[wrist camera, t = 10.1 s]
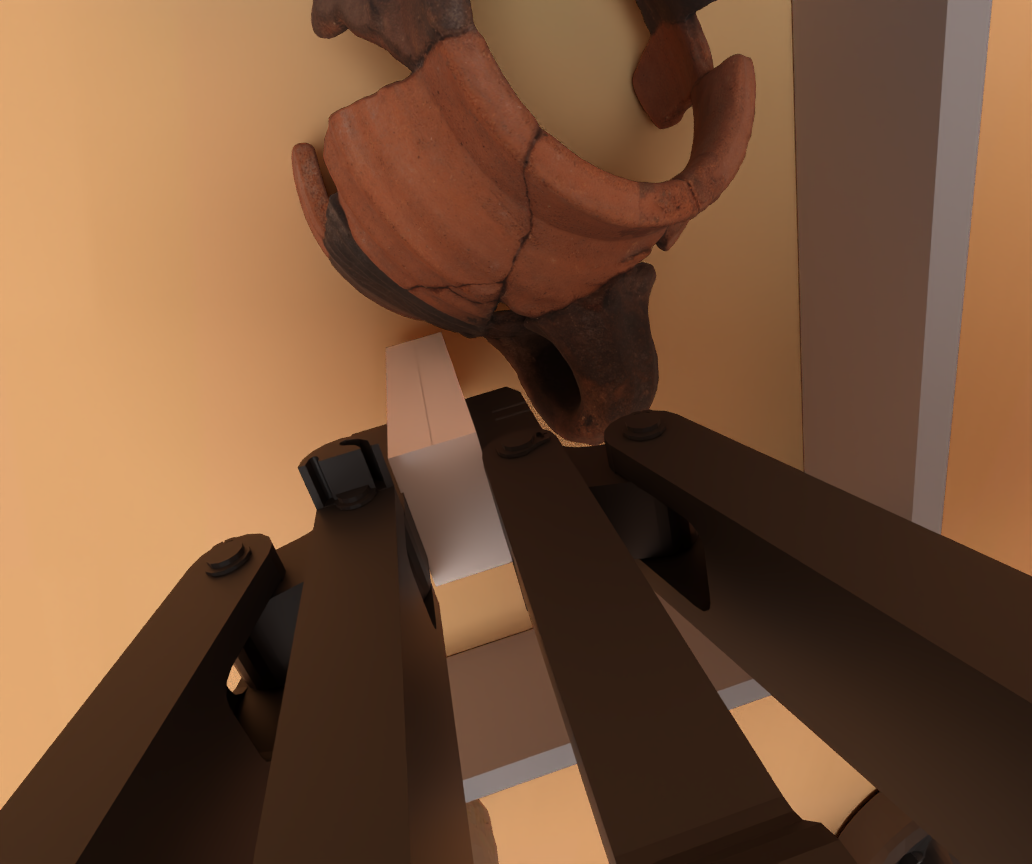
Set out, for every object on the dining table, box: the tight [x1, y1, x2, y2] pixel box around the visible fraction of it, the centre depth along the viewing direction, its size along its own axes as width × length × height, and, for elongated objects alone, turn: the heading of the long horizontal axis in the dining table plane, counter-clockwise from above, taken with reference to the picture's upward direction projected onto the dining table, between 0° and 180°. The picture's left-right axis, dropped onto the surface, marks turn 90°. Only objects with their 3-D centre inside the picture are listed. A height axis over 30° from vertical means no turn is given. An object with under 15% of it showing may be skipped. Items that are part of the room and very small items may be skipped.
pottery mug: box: [292, 0, 756, 446], centre depth 14 cm, size 12×10×8 cm
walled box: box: [446, 0, 992, 803], centre depth 16 cm, size 24×17×5 cm
